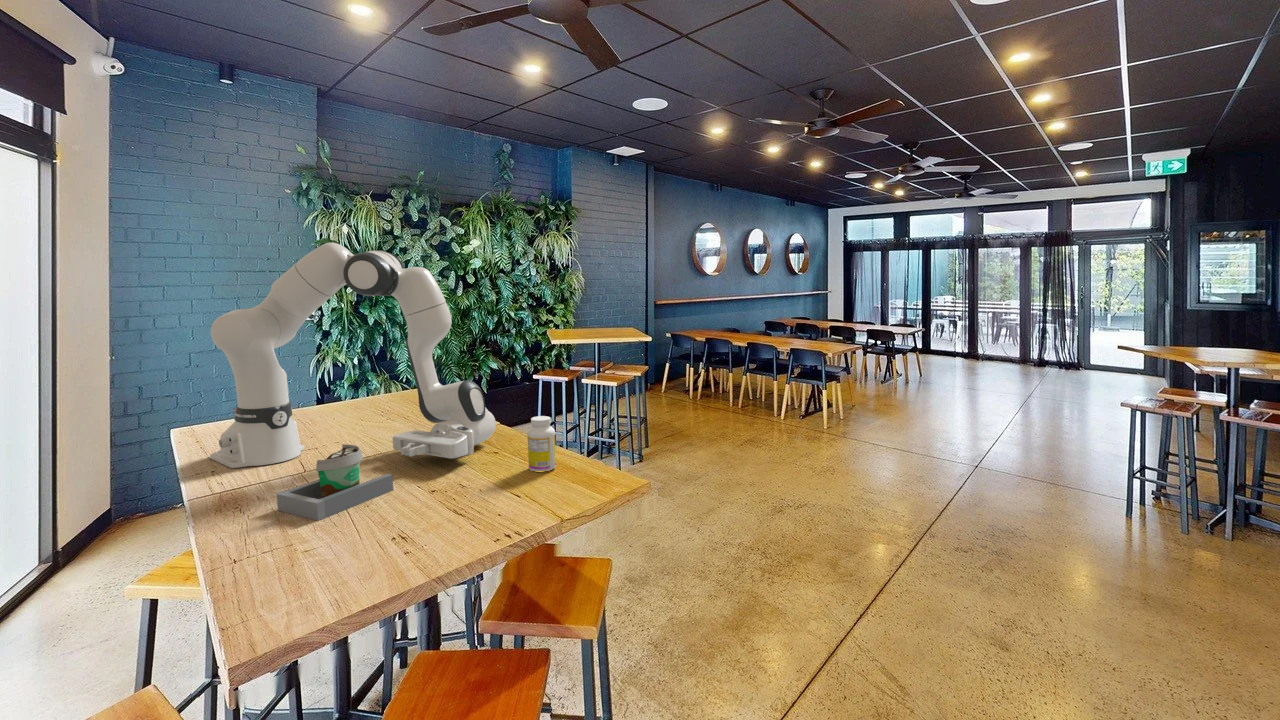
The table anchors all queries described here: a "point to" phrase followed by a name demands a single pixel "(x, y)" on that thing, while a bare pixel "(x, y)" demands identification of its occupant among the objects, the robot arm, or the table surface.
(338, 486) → the food container
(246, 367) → the robot arm
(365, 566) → the table surface
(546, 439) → the supplement bottle
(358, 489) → the grey rectangular tray
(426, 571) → the table surface
